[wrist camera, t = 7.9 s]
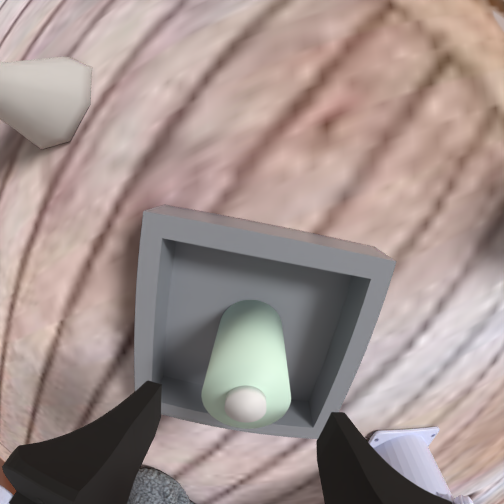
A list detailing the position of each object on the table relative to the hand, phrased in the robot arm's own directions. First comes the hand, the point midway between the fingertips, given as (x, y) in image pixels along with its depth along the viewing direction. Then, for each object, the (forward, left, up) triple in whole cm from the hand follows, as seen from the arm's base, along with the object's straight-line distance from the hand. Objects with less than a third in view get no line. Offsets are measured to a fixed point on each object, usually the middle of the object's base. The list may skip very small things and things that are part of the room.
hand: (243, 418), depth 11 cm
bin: (0, 0, -9) cm, 9 cm away
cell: (0, 0, -8) cm, 8 cm away
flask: (+13, +17, -9) cm, 23 cm away
